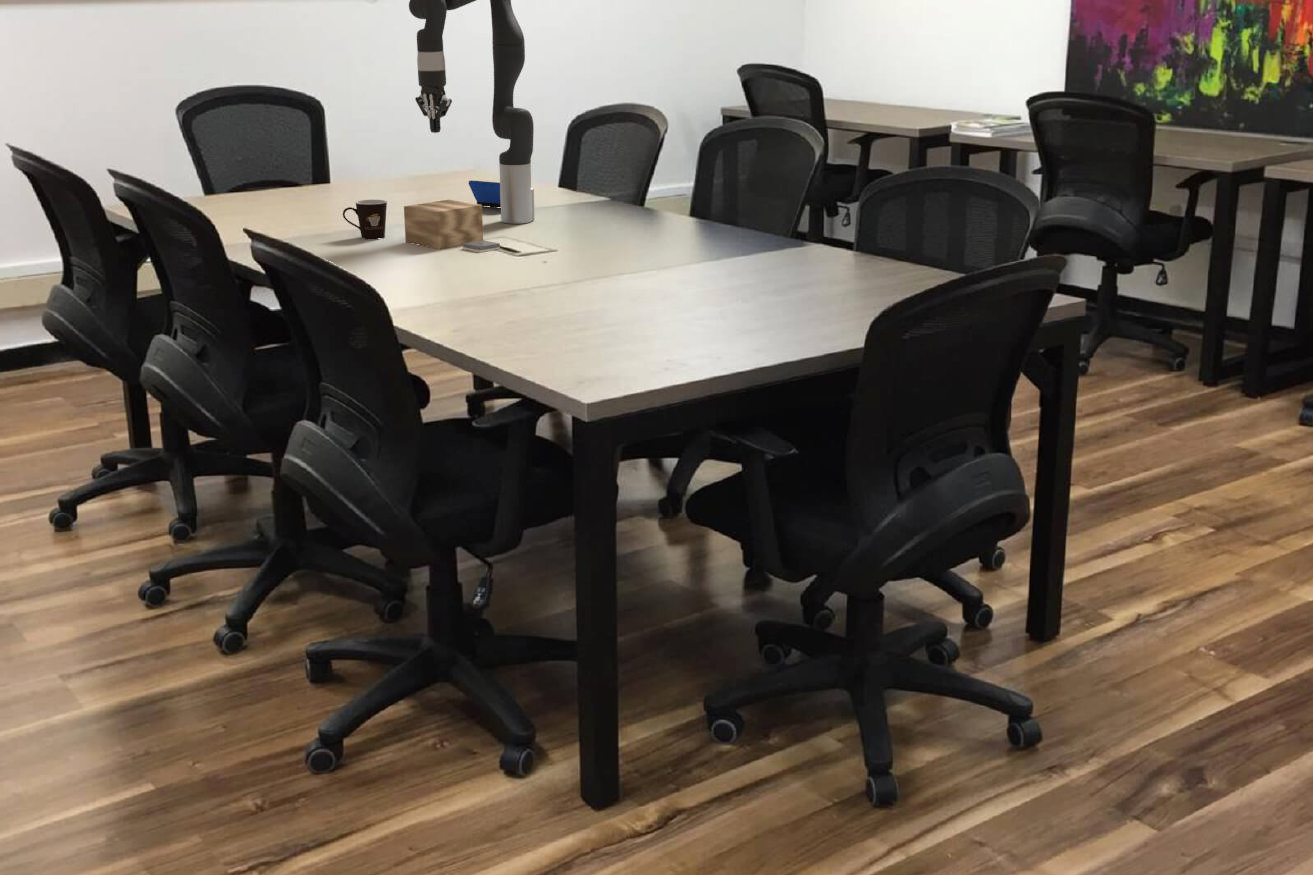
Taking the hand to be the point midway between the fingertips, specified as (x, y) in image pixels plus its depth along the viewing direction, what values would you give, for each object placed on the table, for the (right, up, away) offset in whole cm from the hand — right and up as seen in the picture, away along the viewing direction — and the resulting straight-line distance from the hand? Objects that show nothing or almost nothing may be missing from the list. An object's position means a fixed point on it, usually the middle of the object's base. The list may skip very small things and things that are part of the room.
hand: (435, 132), depth 412 cm
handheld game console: (+12, -13, +55) cm, 58 cm away
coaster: (+14, -32, -11) cm, 37 cm away
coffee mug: (-20, -29, +5) cm, 35 cm away
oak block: (+3, -31, -1) cm, 31 cm away
